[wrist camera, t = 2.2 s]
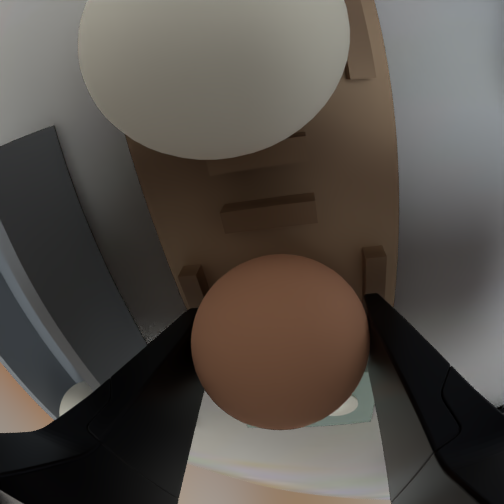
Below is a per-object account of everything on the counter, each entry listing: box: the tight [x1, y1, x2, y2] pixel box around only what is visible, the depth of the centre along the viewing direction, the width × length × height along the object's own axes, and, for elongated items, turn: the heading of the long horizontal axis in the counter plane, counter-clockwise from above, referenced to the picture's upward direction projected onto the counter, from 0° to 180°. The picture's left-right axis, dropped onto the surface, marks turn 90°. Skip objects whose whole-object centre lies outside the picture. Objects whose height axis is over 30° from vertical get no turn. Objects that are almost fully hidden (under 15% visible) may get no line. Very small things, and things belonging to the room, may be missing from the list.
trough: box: [0, 126, 147, 420], centre depth 12 cm, size 18×8×4 cm, turn 11°
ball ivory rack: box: [78, 0, 350, 160], centre depth 4 cm, size 4×4×4 cm
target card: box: [247, 366, 375, 428], centre depth 14 cm, size 5×7×1 cm
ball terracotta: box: [191, 254, 370, 430], centre depth 8 cm, size 4×4×4 cm
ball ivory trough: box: [59, 381, 93, 416], centre depth 14 cm, size 4×4×4 cm
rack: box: [125, 0, 399, 310], centre depth 8 cm, size 14×7×2 cm, turn 11°
